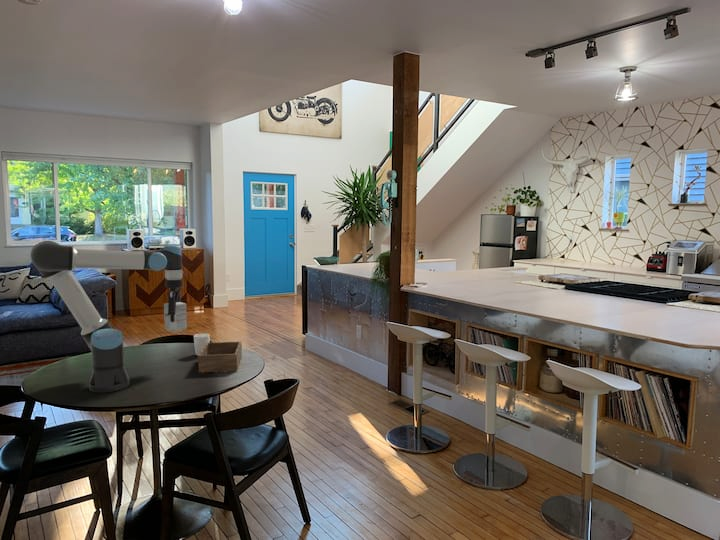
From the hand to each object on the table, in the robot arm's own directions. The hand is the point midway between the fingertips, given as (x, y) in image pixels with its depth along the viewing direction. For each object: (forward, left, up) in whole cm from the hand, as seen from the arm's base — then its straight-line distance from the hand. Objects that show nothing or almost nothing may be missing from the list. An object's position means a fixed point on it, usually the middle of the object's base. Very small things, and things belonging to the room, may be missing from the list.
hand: (175, 326), depth 240 cm
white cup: (+21, -8, -20) cm, 30 cm away
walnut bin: (+1, -20, -20) cm, 28 cm away
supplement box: (0, 0, -2) cm, 2 cm away
